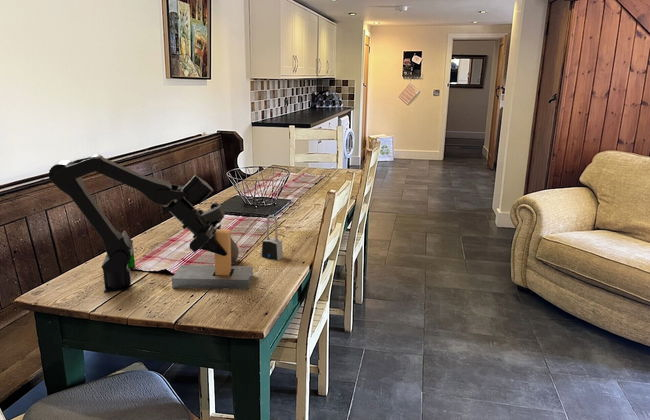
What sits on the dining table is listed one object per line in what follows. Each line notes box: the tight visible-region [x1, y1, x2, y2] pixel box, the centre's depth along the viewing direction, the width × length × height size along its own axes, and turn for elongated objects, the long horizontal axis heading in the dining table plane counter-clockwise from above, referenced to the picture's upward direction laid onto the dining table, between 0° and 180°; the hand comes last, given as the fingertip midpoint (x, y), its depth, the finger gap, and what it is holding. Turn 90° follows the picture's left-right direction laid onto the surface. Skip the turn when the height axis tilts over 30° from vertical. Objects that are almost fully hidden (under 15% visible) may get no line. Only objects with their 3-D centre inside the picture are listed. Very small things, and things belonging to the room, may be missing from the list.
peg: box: [214, 228, 232, 276], centre depth 141 cm, size 4×4×13 cm
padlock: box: [260, 214, 284, 261], centre depth 162 cm, size 7×4×15 cm, turn 65°
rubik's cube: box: [127, 249, 136, 269], centre depth 152 cm, size 6×6×6 cm
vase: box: [231, 237, 239, 265], centre depth 157 cm, size 7×7×9 cm
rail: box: [171, 264, 254, 290], centre depth 144 cm, size 22×10×3 cm, turn 91°
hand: (227, 252), depth 141 cm, fingers closed on peg, 4 cm apart
